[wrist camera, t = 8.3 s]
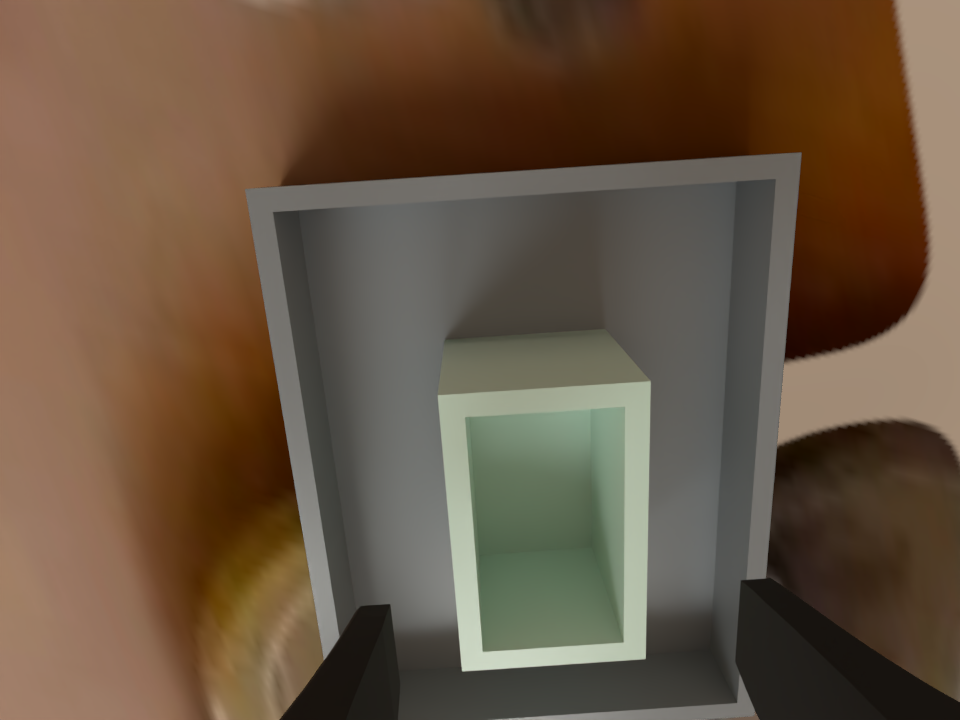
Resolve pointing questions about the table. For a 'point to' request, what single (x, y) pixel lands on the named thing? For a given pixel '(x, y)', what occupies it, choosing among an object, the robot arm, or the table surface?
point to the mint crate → (546, 497)
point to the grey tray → (530, 310)
